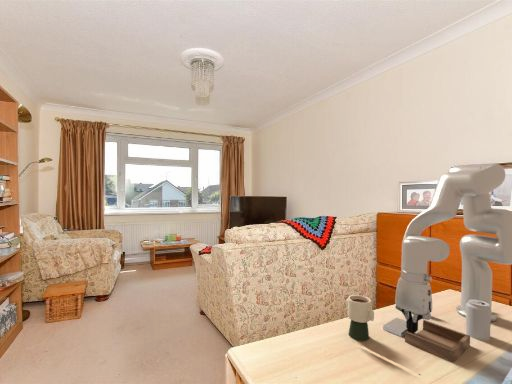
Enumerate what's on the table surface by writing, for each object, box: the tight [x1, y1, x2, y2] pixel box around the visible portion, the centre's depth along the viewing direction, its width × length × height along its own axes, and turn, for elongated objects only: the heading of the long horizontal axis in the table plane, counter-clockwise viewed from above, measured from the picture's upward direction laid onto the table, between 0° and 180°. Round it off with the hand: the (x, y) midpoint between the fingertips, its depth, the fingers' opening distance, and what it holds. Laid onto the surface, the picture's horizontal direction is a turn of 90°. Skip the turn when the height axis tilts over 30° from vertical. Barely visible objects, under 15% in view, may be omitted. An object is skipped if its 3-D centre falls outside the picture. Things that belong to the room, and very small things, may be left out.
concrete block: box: [382, 317, 407, 338], centre depth 96 cm, size 10×6×2 cm, turn 129°
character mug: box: [345, 294, 375, 342], centre depth 91 cm, size 11×7×13 cm, turn 29°
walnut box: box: [404, 319, 471, 363], centre depth 87 cm, size 14×13×4 cm
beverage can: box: [465, 299, 492, 342], centre depth 93 cm, size 6×6×12 cm
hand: (411, 331), depth 93 cm, fingers closed
